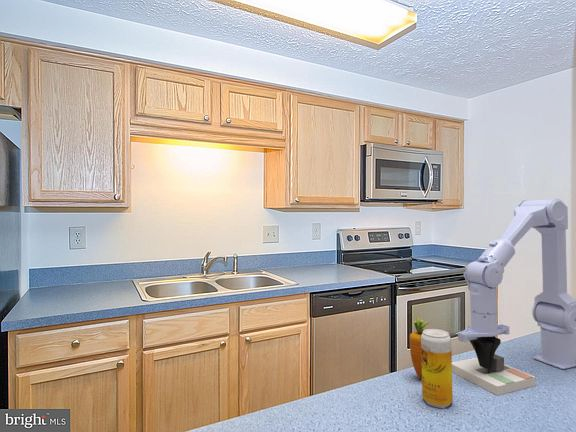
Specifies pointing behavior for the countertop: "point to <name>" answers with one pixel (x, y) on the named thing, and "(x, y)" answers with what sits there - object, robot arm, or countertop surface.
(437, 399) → the beer can
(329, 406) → the countertop surface
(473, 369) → the switch board
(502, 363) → the switch handle
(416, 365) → the carrot
